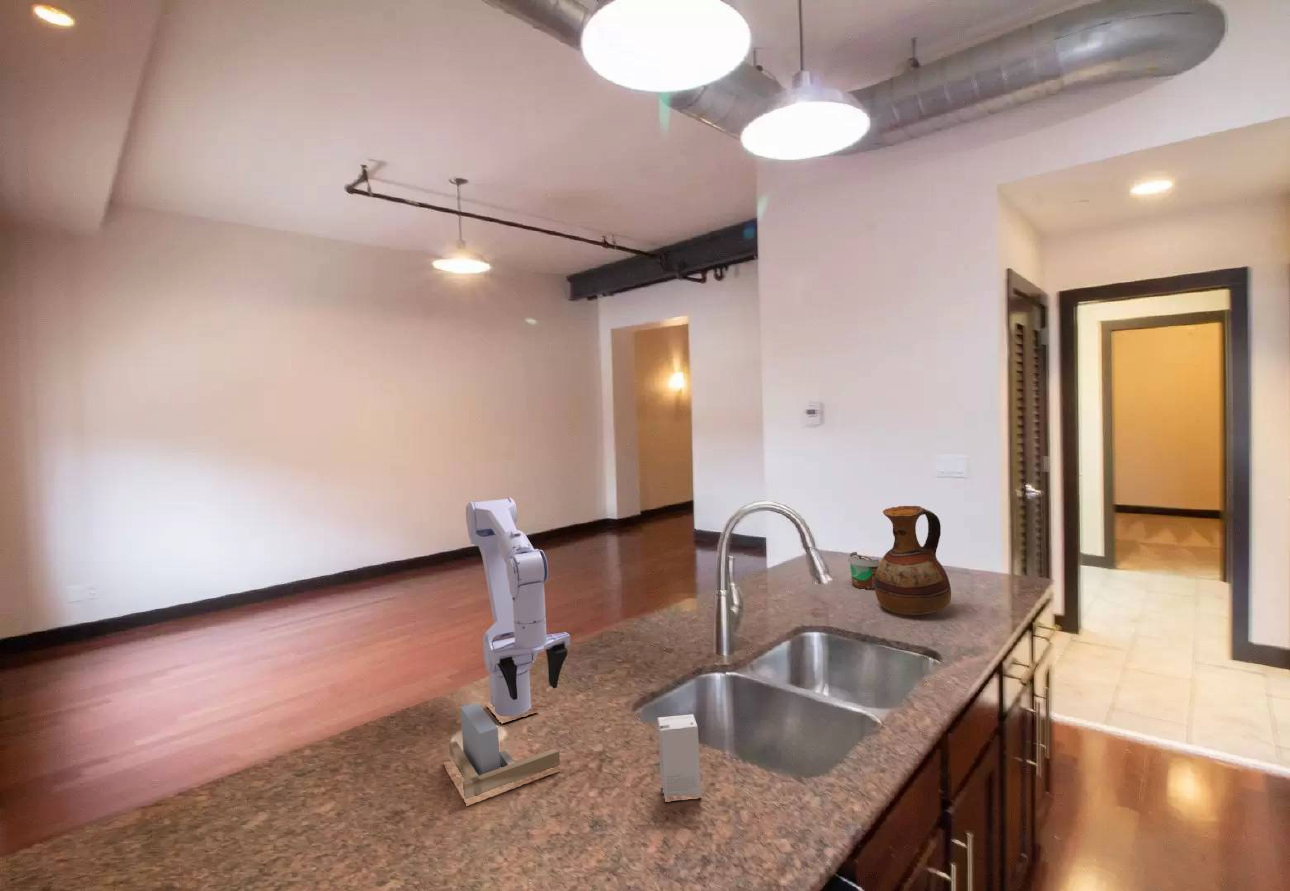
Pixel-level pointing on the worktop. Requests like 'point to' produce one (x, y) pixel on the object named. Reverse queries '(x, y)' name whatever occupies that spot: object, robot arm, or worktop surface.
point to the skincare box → (679, 755)
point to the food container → (863, 571)
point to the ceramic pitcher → (912, 566)
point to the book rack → (500, 769)
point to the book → (479, 739)
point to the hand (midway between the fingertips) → (533, 691)
